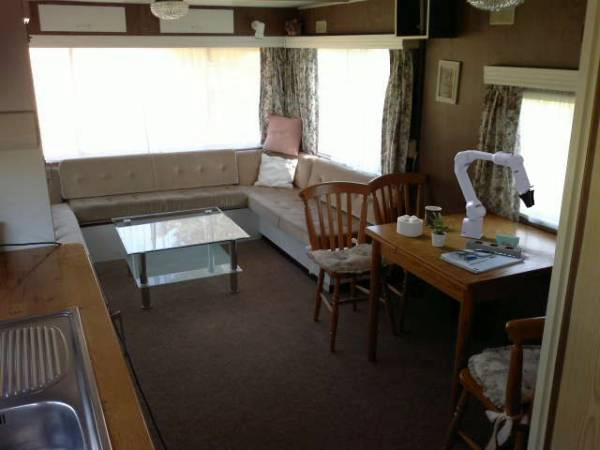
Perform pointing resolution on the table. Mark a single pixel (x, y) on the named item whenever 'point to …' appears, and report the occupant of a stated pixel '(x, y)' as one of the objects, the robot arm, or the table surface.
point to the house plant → (438, 231)
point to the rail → (494, 247)
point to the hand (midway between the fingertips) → (531, 206)
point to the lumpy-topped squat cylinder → (409, 226)
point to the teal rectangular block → (507, 239)
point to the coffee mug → (431, 215)
